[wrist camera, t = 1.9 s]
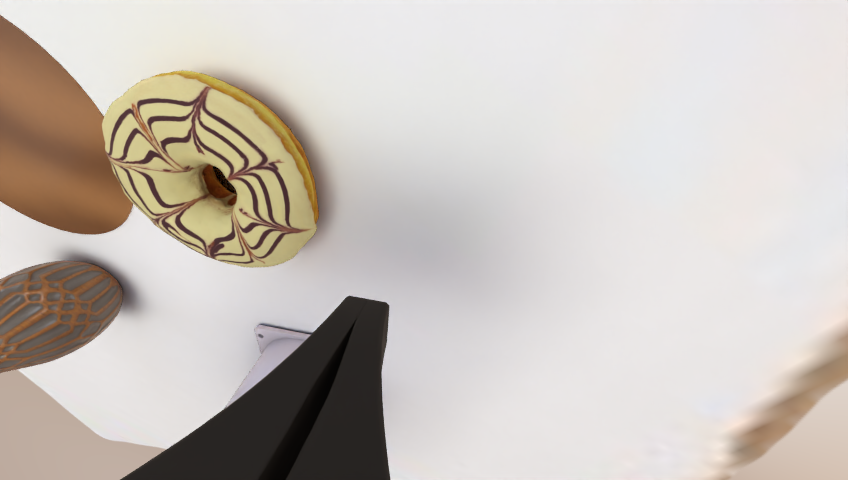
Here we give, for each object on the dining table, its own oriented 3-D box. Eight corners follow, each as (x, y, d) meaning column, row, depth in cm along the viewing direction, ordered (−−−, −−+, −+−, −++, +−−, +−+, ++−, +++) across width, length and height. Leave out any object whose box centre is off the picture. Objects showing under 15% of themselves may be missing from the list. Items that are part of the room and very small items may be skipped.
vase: (44, 267, 26) (-123, 352, 19) (73, 233, 23) (-109, 319, 16) (119, 318, 29) (-1, 410, 21) (153, 293, 26) (28, 390, 19)
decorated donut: (241, 260, 22) (203, 295, 19) (119, 119, 18) (42, 135, 14) (359, 221, 19) (336, 255, 16) (248, 32, 14) (184, 29, 11)
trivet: (167, 248, 23) (165, 249, 23) (-12, 215, 24) (-15, 216, 24) (59, -1, 15) (54, -1, 15) (-208, -38, 16) (-216, -39, 15)
